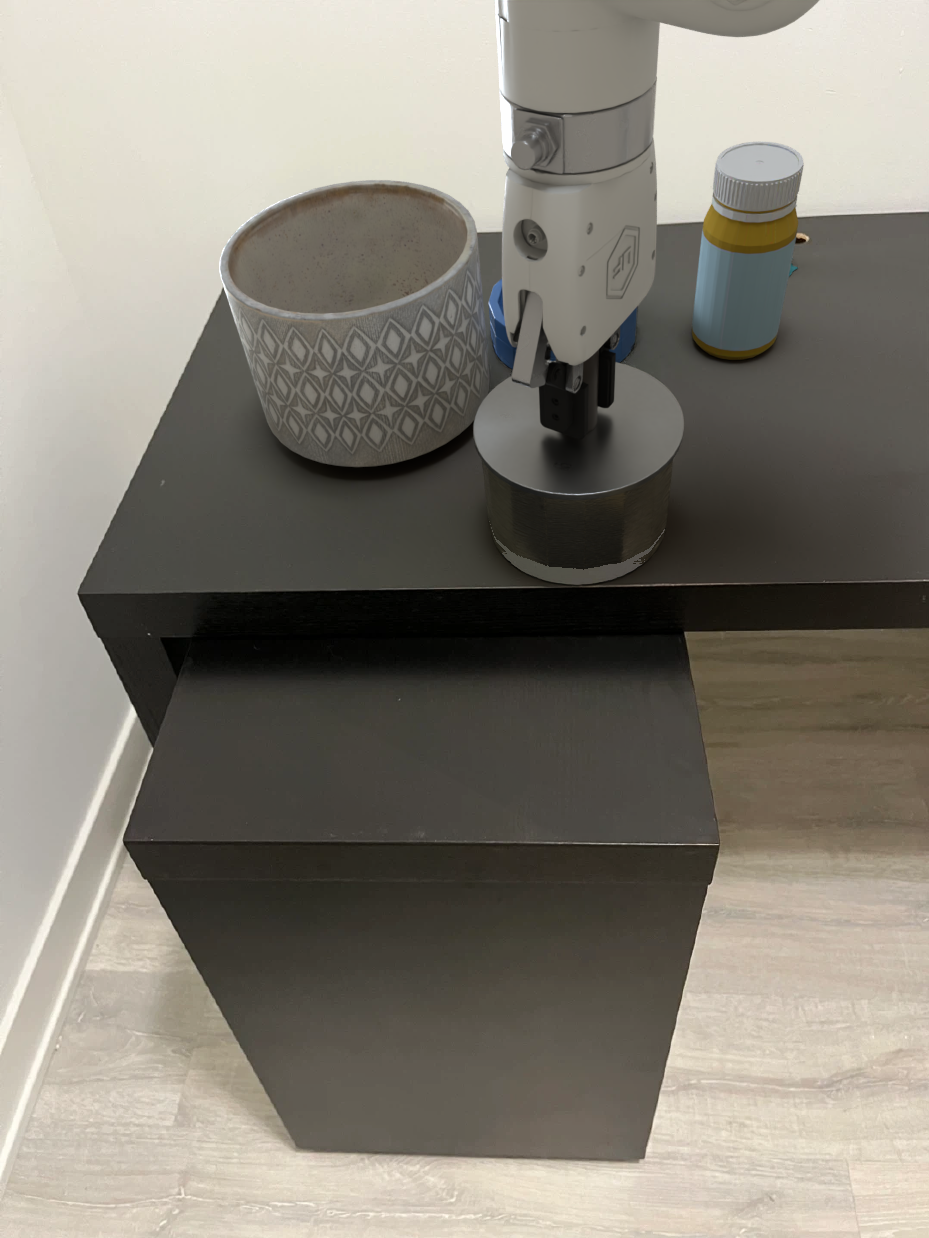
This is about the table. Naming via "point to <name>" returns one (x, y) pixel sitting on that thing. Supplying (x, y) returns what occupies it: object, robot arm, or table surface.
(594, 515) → the pot
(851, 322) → the table surface
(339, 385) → the planter
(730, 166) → the bottle
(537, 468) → the lid
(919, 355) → the table surface
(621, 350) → the pan
